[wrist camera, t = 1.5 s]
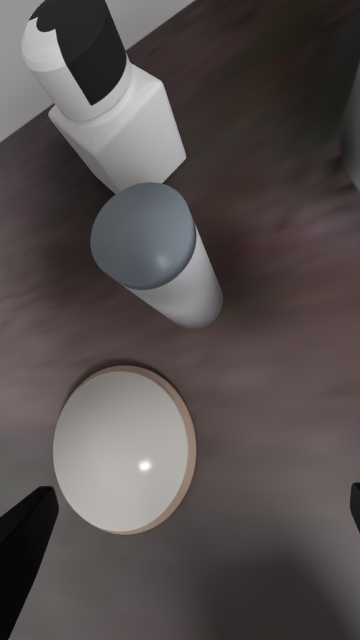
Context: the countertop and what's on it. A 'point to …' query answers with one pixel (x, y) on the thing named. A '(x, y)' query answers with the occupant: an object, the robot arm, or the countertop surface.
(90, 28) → the medicine bottle
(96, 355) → the countertop surface
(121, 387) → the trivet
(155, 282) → the grey-topped white cylinder
